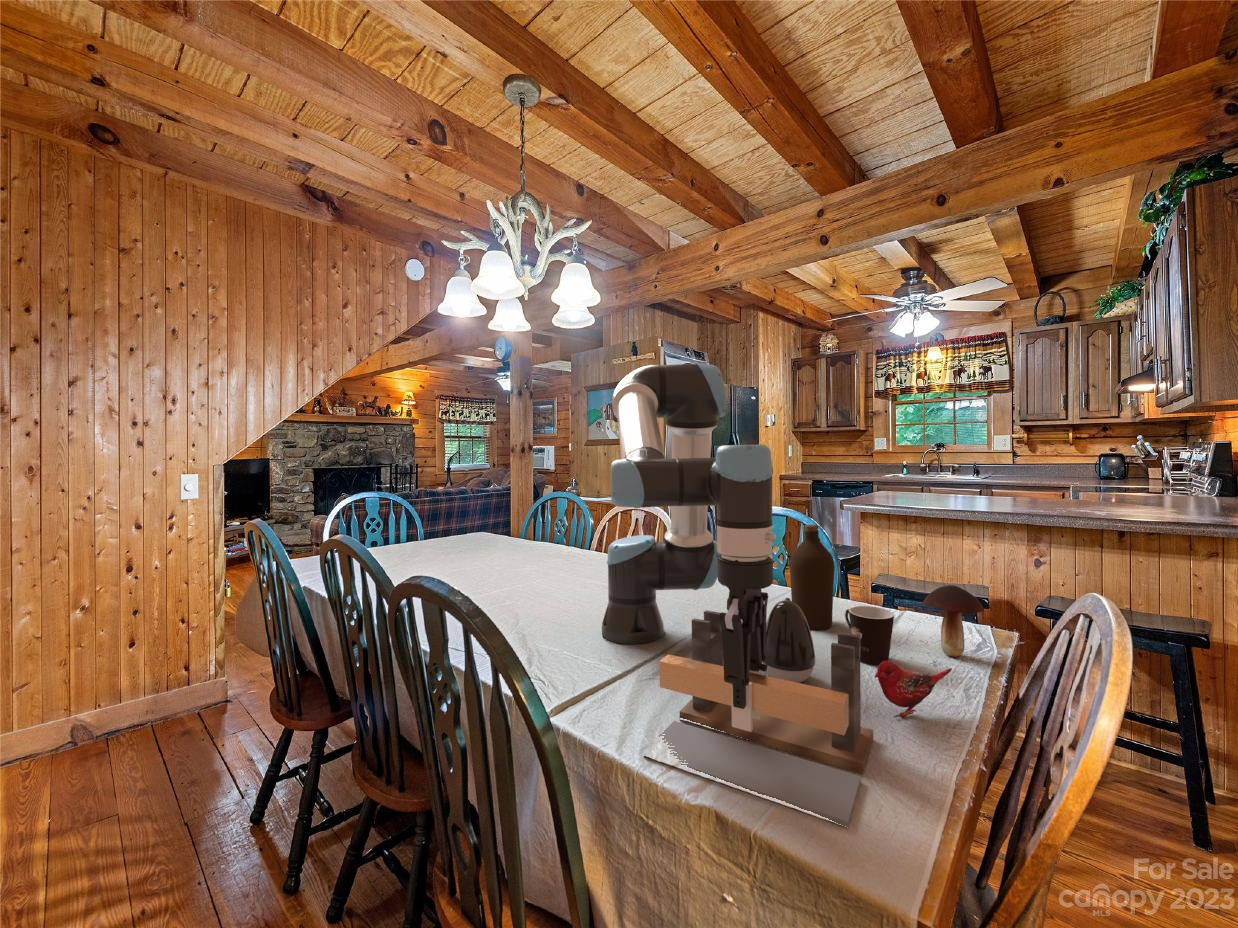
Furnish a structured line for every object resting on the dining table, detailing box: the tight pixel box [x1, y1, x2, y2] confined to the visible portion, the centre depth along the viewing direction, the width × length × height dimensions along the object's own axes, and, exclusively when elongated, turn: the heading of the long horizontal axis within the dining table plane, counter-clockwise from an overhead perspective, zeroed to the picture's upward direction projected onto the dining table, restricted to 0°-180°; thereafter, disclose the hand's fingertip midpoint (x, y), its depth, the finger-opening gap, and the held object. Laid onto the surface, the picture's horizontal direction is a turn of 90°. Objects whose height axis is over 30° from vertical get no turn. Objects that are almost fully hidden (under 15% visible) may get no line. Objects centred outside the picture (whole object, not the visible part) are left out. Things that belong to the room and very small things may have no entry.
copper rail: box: [659, 654, 849, 735], centre depth 74 cm, size 26×3×4 cm, turn 57°
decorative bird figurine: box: [874, 660, 953, 718], centre depth 88 cm, size 3×18×10 cm, turn 111°
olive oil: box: [789, 523, 836, 631], centre depth 132 cm, size 11×11×25 cm
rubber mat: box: [658, 720, 862, 828], centre depth 74 cm, size 28×10×1 cm, turn 57°
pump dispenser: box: [762, 597, 817, 683], centre depth 102 cm, size 10×10×15 cm
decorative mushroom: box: [922, 584, 985, 658], centre depth 111 cm, size 11×11×15 cm
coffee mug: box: [844, 605, 895, 667], centre depth 112 cm, size 12×9×10 cm
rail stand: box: [679, 609, 874, 775], centre depth 84 cm, size 28×10×16 cm, turn 57°
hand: (746, 721), depth 74 cm, fingers closed on copper rail, 3 cm apart
